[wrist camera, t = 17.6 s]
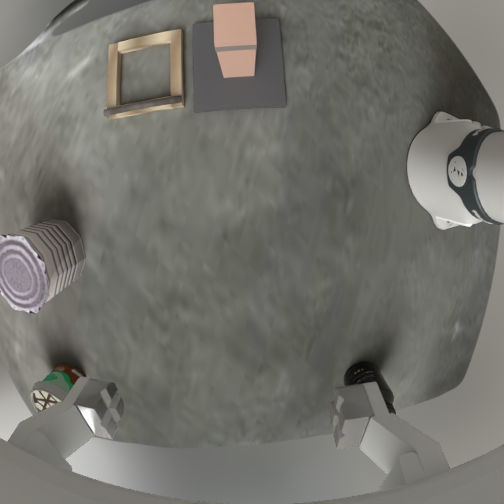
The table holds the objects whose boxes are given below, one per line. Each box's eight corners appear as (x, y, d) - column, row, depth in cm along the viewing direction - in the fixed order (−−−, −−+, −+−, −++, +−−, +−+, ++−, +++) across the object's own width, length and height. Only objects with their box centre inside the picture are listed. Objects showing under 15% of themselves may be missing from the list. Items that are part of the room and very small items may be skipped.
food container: (69, 350, 47) (45, 380, 37) (90, 373, 48) (69, 406, 39) (42, 368, 49) (20, 395, 39) (60, 389, 50) (41, 418, 41)
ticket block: (252, 44, 33) (254, 2, 22) (254, 76, 35) (257, 41, 23) (222, 46, 33) (212, 4, 22) (223, 78, 35) (213, 44, 23)
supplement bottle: (381, 377, 49) (405, 419, 38) (349, 394, 50) (367, 439, 38) (371, 353, 47) (397, 397, 36) (337, 372, 48) (355, 419, 37)
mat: (278, 20, 33) (278, 18, 32) (285, 107, 36) (286, 106, 36) (193, 26, 33) (192, 23, 32) (195, 112, 37) (194, 111, 36)
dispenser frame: (183, 33, 33) (179, 26, 31) (184, 107, 36) (180, 103, 34) (113, 48, 33) (106, 42, 31) (111, 119, 36) (103, 117, 34)
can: (53, 203, 39) (5, 216, 28) (98, 252, 42) (56, 280, 30) (26, 251, 42) (-17, 273, 30) (67, 297, 44) (28, 330, 32)
